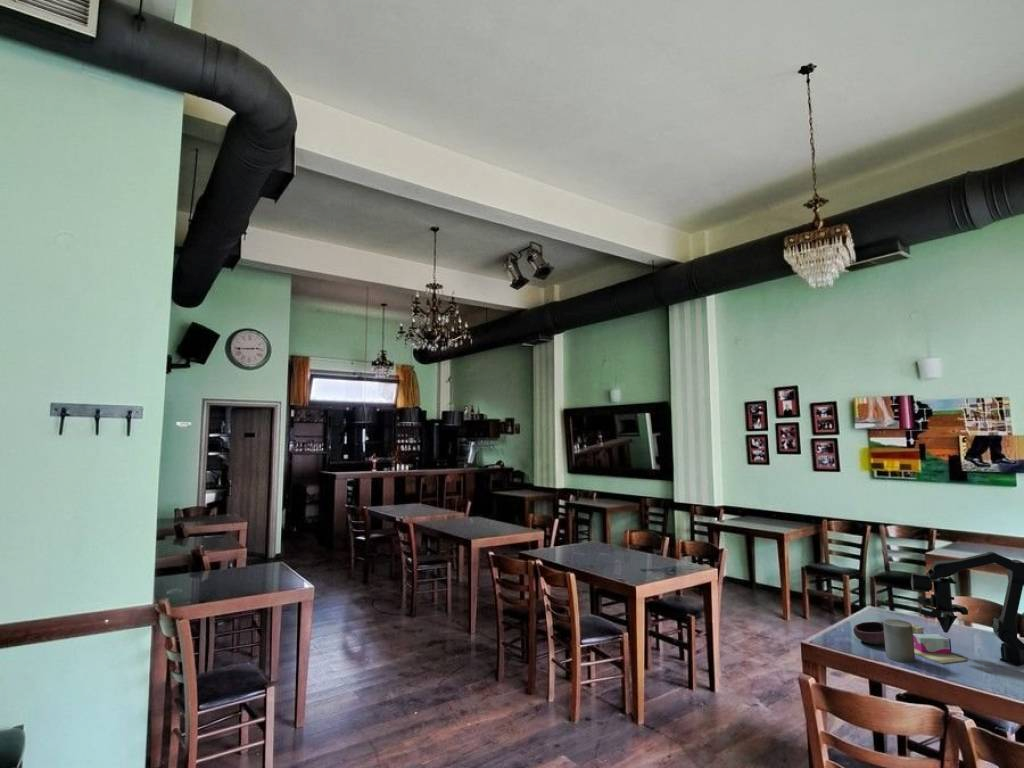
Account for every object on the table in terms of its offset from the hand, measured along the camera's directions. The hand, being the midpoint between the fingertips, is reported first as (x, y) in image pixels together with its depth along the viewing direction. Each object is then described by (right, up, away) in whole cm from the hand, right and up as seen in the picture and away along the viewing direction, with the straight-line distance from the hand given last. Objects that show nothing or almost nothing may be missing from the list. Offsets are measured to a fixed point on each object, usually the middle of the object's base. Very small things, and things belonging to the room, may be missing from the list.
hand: (945, 632), depth 225 cm
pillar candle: (-23, -8, -6) cm, 25 cm away
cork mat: (-7, -8, -3) cm, 11 cm away
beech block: (-7, -9, +7) cm, 13 cm away
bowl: (-22, -10, +12) cm, 27 cm away
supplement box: (+1, -5, +1) cm, 5 cm away
